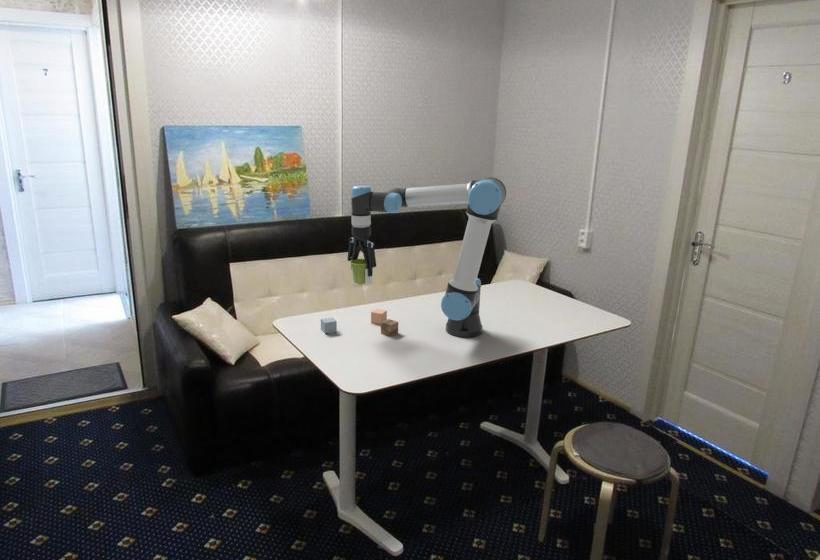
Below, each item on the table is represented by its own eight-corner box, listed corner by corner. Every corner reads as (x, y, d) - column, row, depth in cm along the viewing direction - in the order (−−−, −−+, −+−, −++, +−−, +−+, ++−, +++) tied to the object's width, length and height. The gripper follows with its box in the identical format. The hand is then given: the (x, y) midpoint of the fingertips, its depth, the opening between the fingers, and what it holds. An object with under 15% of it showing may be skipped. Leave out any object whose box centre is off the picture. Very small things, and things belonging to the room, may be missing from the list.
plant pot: (372, 285, 231) (372, 264, 228) (348, 285, 231) (348, 264, 228) (374, 279, 240) (374, 258, 237) (351, 279, 240) (351, 258, 237)
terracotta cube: (386, 321, 251) (386, 310, 250) (381, 325, 246) (381, 313, 245) (376, 319, 253) (376, 308, 251) (371, 323, 248) (371, 312, 247)
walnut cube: (398, 333, 238) (398, 321, 236) (390, 336, 234) (390, 325, 232) (388, 330, 240) (388, 319, 239) (380, 333, 237) (380, 322, 235)
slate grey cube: (336, 332, 236) (336, 321, 235) (324, 334, 234) (324, 322, 233) (332, 328, 241) (332, 317, 239) (320, 330, 239) (320, 318, 237)
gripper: (385, 228, 224) (385, 285, 230) (352, 221, 239) (353, 274, 245) (370, 230, 219) (370, 288, 225) (337, 223, 234) (338, 277, 240)
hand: (361, 281), depth 235 cm, fingers closed on plant pot, 8 cm apart
